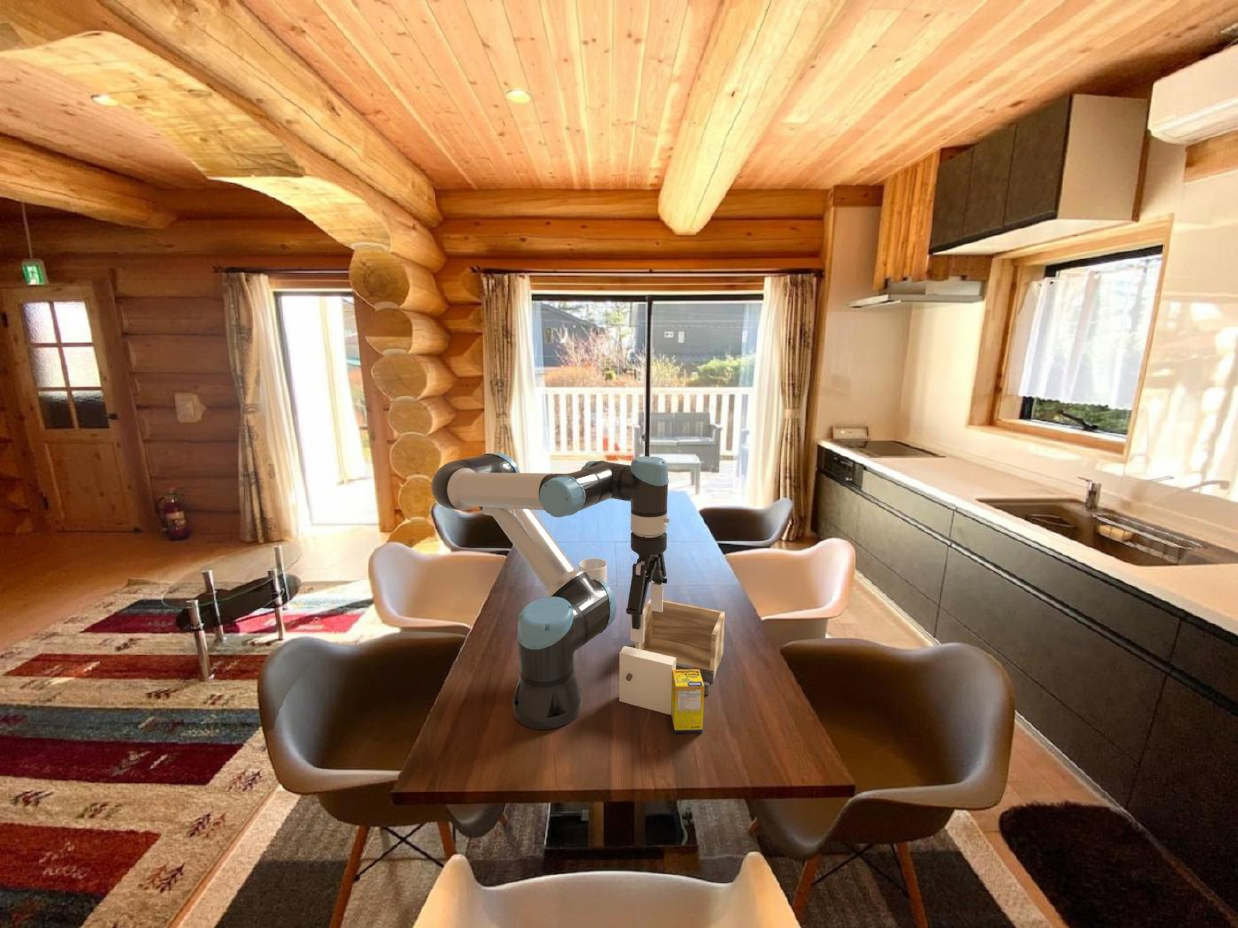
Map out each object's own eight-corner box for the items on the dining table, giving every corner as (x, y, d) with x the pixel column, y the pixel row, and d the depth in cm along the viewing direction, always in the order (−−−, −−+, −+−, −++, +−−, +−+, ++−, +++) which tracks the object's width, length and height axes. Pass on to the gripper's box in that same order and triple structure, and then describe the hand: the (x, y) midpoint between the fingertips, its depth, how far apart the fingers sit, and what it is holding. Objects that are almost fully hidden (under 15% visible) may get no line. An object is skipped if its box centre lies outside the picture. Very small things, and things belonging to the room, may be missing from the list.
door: (669, 717, 111) (670, 667, 108) (617, 703, 115) (617, 655, 112) (674, 706, 114) (676, 657, 112) (624, 692, 119) (624, 645, 116)
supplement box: (697, 713, 112) (699, 668, 110) (702, 733, 106) (705, 686, 104) (670, 713, 112) (671, 668, 110) (674, 733, 106) (675, 686, 104)
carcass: (708, 695, 118) (710, 647, 115) (626, 674, 125) (626, 629, 123) (723, 653, 134) (725, 611, 132) (650, 638, 141) (651, 597, 139)
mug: (604, 603, 161) (604, 570, 158) (576, 601, 162) (576, 568, 160) (610, 586, 172) (610, 555, 170) (584, 584, 174) (583, 553, 171)
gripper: (647, 555, 95) (646, 659, 99) (681, 516, 117) (678, 602, 122) (609, 550, 97) (610, 651, 102) (649, 512, 120) (648, 597, 124)
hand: (647, 625), depth 112 cm, fingers open, 13 cm apart
